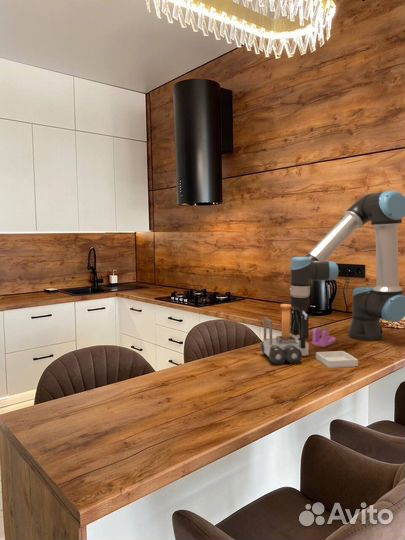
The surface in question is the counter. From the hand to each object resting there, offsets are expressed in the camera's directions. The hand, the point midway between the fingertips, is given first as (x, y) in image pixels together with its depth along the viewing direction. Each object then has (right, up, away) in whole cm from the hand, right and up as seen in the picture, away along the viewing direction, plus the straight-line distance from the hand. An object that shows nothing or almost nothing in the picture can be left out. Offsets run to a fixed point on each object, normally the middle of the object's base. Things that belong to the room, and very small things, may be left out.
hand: (298, 353), depth 166 cm
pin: (-7, +6, -7) cm, 12 cm away
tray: (+11, -1, -12) cm, 16 cm away
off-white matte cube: (0, 0, 0) cm, 0 cm away
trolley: (-9, -1, -7) cm, 11 cm away
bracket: (+15, +1, +16) cm, 22 cm away
